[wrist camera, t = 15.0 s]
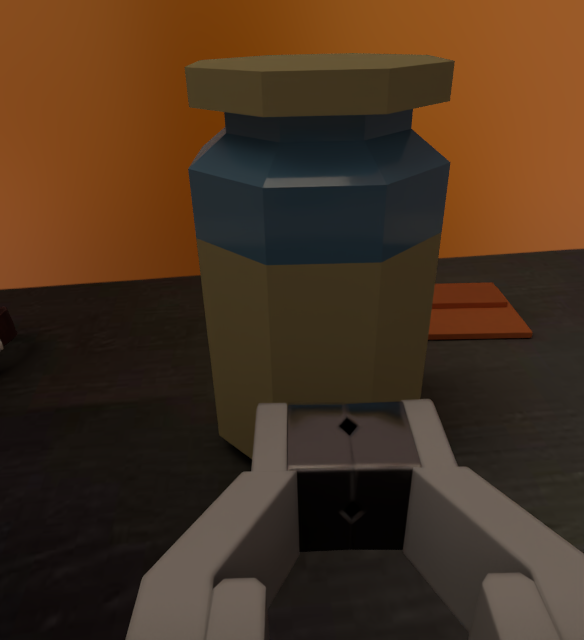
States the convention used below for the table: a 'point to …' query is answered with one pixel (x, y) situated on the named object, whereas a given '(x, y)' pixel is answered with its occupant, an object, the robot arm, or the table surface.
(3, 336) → the watch
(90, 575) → the table surface
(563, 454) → the table surface
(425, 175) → the jar
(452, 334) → the cloth
